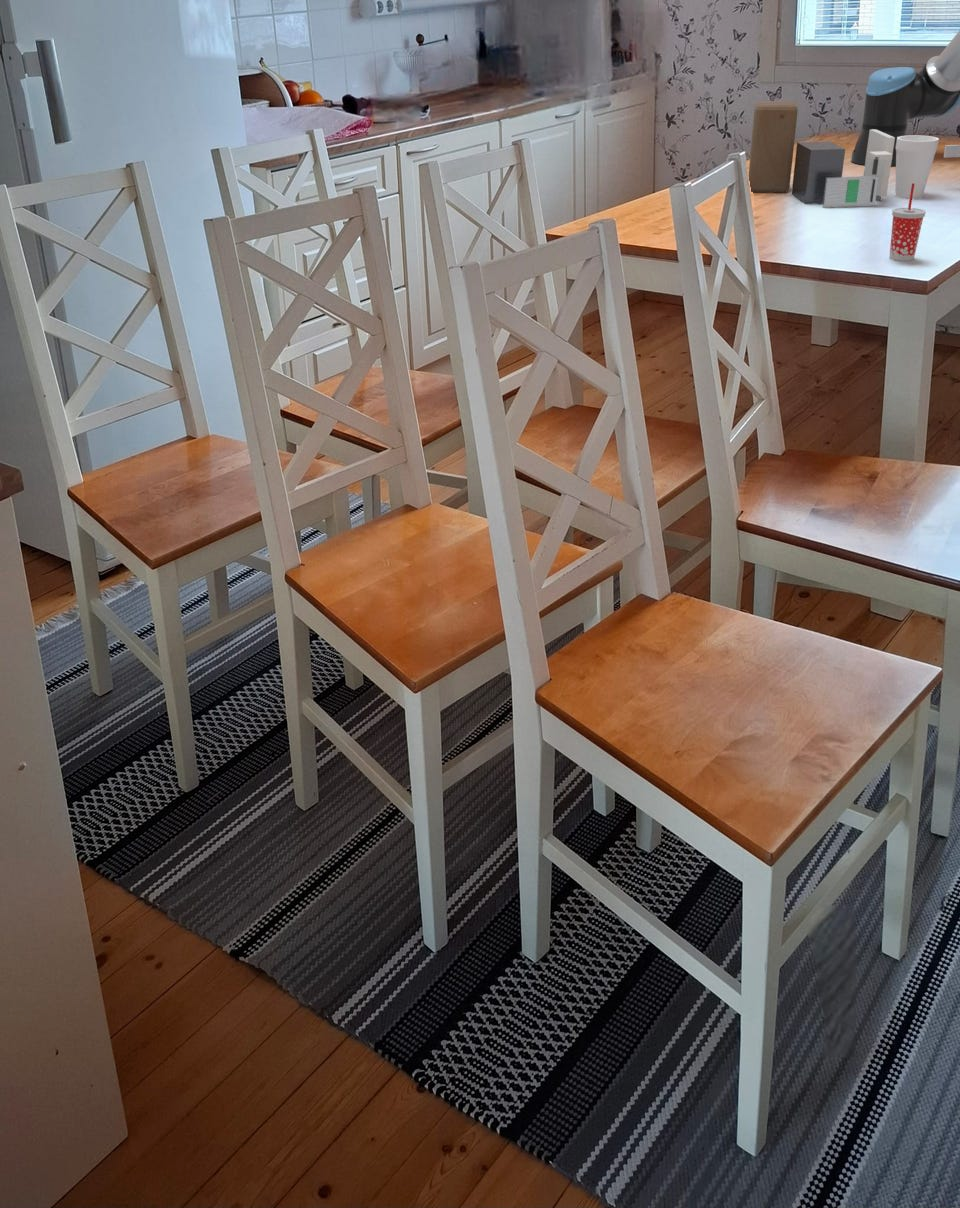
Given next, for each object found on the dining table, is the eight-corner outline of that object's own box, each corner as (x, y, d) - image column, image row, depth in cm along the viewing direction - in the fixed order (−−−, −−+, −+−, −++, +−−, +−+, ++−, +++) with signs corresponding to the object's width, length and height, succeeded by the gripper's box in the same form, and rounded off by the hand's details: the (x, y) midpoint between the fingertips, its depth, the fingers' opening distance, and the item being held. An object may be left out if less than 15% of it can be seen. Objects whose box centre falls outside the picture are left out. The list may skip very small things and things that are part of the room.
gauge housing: (866, 192, 287) (873, 140, 281) (889, 205, 273) (898, 151, 267) (791, 194, 287) (797, 142, 281) (811, 208, 272) (817, 153, 266)
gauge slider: (868, 186, 287) (875, 129, 281) (892, 199, 272) (901, 140, 266) (845, 186, 287) (853, 130, 280) (868, 200, 272) (877, 140, 266)
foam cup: (900, 190, 288) (909, 134, 282) (936, 195, 282) (945, 137, 276) (881, 196, 282) (889, 139, 276) (917, 201, 277) (926, 142, 270)
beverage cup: (909, 263, 226) (922, 187, 219) (879, 258, 230) (890, 184, 223) (923, 257, 230) (935, 182, 223) (893, 252, 234) (904, 179, 227)
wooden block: (789, 193, 288) (798, 105, 278) (747, 192, 290) (755, 105, 280) (787, 185, 296) (796, 100, 286) (747, 185, 298) (755, 100, 288)
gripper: (1066, 178, 270) (975, 181, 269) (1017, 161, 291) (933, 164, 291) (1073, 143, 266) (981, 146, 265) (1024, 128, 288) (938, 131, 287)
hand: (956, 155), depth 278 cm, fingers open, 13 cm apart
